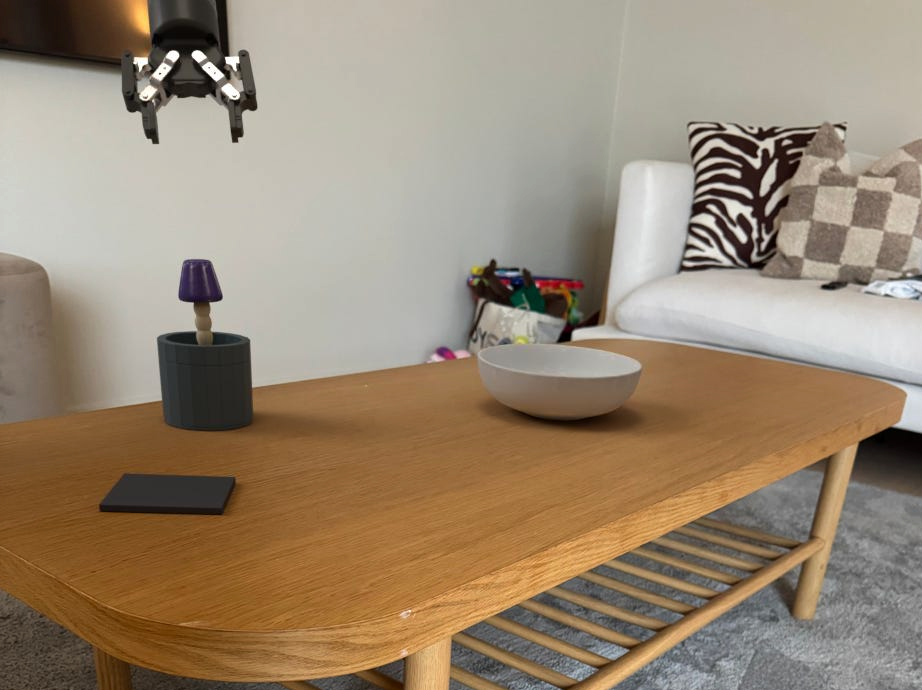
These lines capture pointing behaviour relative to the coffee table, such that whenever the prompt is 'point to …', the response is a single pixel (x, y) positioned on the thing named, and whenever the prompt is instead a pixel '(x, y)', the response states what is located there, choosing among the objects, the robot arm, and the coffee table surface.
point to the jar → (205, 381)
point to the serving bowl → (558, 379)
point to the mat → (169, 494)
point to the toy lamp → (200, 294)
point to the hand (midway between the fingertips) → (195, 138)
